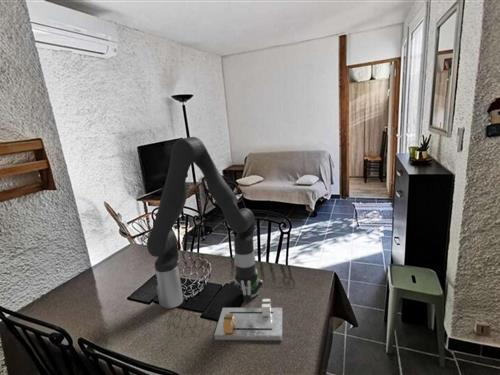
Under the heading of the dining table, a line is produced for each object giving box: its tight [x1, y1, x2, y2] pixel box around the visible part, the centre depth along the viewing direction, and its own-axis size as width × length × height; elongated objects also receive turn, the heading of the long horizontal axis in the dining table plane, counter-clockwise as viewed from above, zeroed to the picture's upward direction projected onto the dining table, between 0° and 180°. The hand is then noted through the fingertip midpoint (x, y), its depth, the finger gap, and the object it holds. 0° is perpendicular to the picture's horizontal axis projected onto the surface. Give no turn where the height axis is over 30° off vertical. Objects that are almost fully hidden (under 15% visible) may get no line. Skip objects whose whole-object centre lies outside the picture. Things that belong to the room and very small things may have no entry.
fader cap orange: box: [223, 314, 235, 333], centre depth 107 cm, size 3×5×4 cm, turn 174°
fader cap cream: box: [261, 298, 272, 316], centre depth 114 cm, size 3×5×4 cm, turn 174°
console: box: [213, 307, 283, 341], centre depth 110 cm, size 24×16×2 cm, turn 84°
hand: (248, 301), depth 114 cm, fingers closed
